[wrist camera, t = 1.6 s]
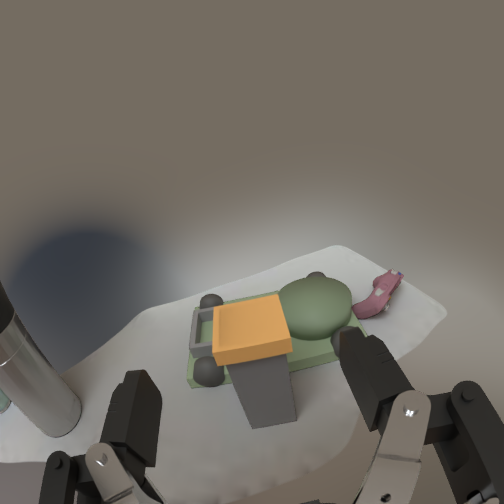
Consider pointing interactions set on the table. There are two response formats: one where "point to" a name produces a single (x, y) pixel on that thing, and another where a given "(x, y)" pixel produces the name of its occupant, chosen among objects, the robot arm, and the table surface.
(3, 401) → the disposable coffee cup
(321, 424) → the table surface
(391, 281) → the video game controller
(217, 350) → the orange-capped grey post
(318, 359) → the toy lawn mower
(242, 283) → the table surface
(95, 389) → the table surface
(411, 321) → the table surface
